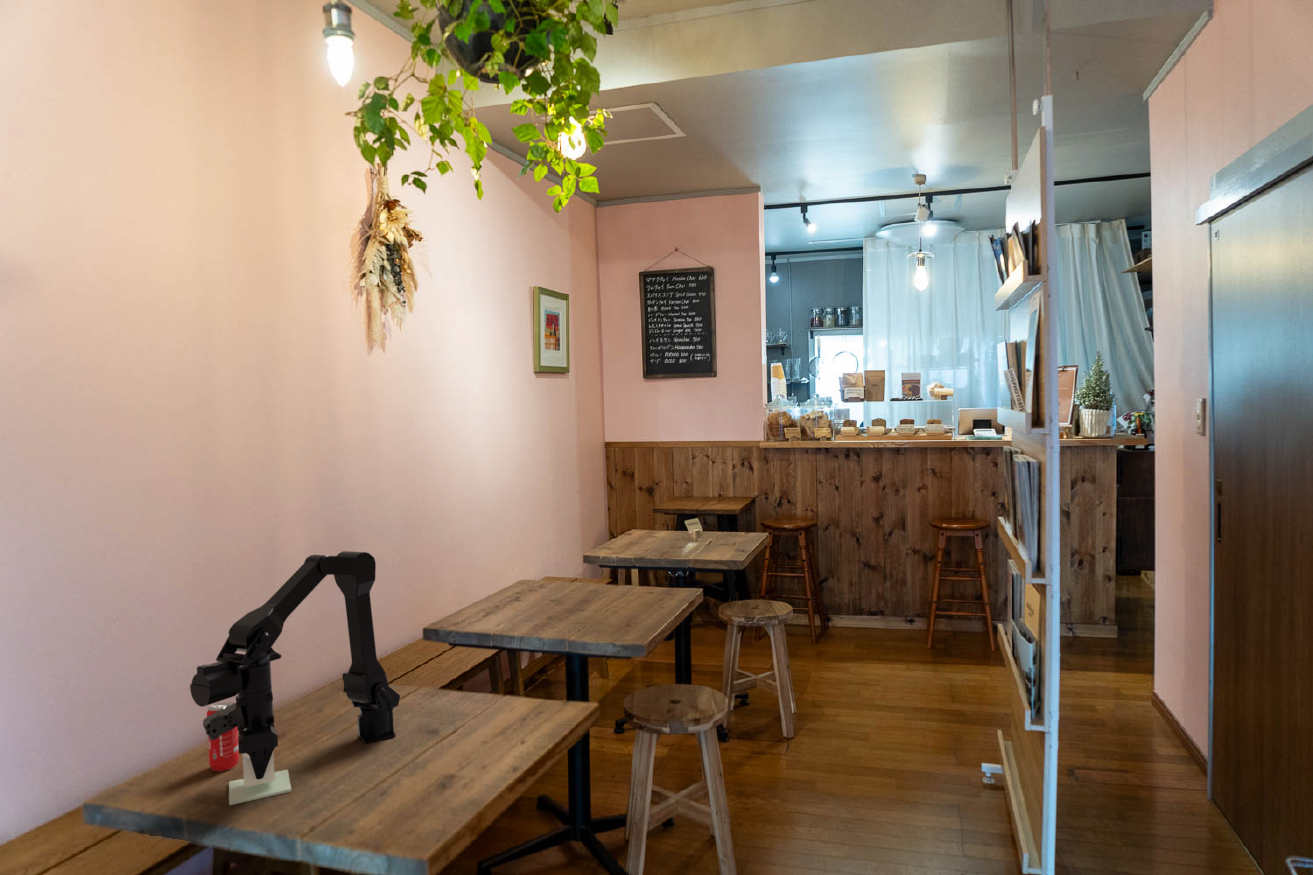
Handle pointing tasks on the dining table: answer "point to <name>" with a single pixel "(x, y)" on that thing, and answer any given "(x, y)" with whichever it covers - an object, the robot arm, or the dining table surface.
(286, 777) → the pad
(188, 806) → the dining table surface
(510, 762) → the dining table surface
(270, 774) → the cube
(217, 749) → the beverage can
